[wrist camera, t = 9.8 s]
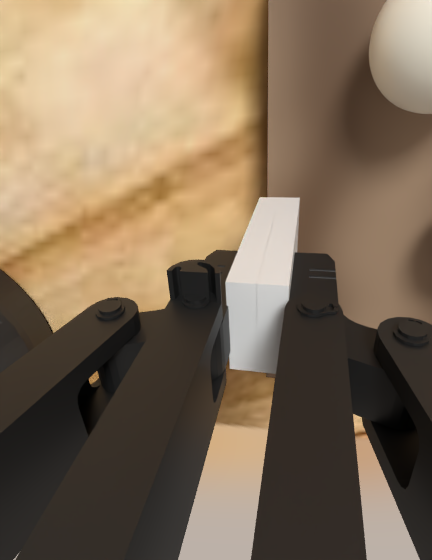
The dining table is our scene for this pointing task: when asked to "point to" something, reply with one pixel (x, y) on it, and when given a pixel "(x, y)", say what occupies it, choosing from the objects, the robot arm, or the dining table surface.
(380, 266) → the board
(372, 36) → the cream ball
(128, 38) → the dining table surface
